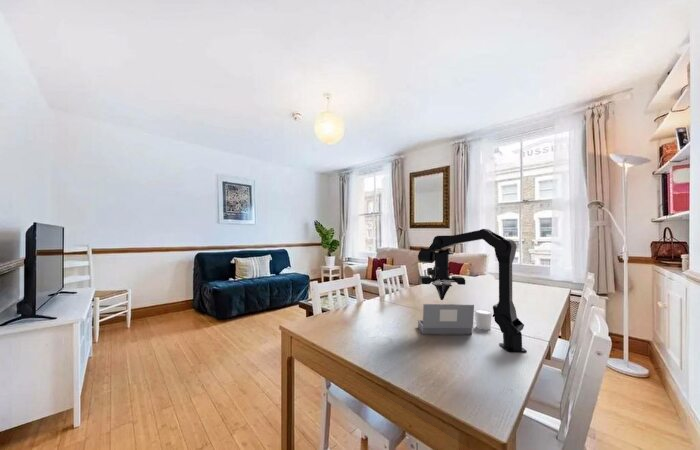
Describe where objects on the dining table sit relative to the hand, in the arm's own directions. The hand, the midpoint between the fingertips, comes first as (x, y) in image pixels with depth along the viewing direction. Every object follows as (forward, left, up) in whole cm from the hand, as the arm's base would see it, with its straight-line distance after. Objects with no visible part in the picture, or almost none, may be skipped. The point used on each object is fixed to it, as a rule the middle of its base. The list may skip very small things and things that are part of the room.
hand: (441, 299), depth 117 cm
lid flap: (-7, 0, -5) cm, 9 cm away
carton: (-2, 0, -13) cm, 13 cm away
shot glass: (+3, -19, -13) cm, 24 cm away
